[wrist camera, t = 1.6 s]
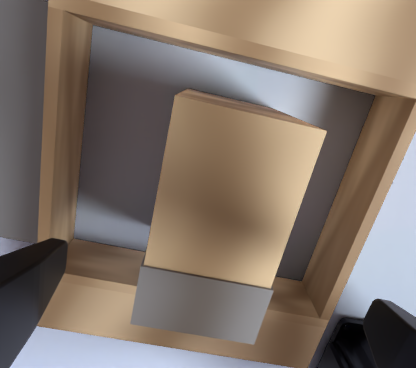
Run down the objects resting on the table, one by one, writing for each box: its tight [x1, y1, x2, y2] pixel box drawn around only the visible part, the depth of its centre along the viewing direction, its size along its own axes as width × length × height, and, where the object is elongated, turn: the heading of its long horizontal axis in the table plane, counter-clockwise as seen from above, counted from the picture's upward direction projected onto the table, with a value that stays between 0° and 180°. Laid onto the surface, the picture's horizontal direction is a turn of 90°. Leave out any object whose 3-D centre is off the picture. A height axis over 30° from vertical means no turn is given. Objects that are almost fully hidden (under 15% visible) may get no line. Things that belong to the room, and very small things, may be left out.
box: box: [130, 88, 327, 345], centre depth 15 cm, size 5×9×8 cm, turn 167°
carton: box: [37, 0, 416, 368], centre depth 17 cm, size 17×21×4 cm
